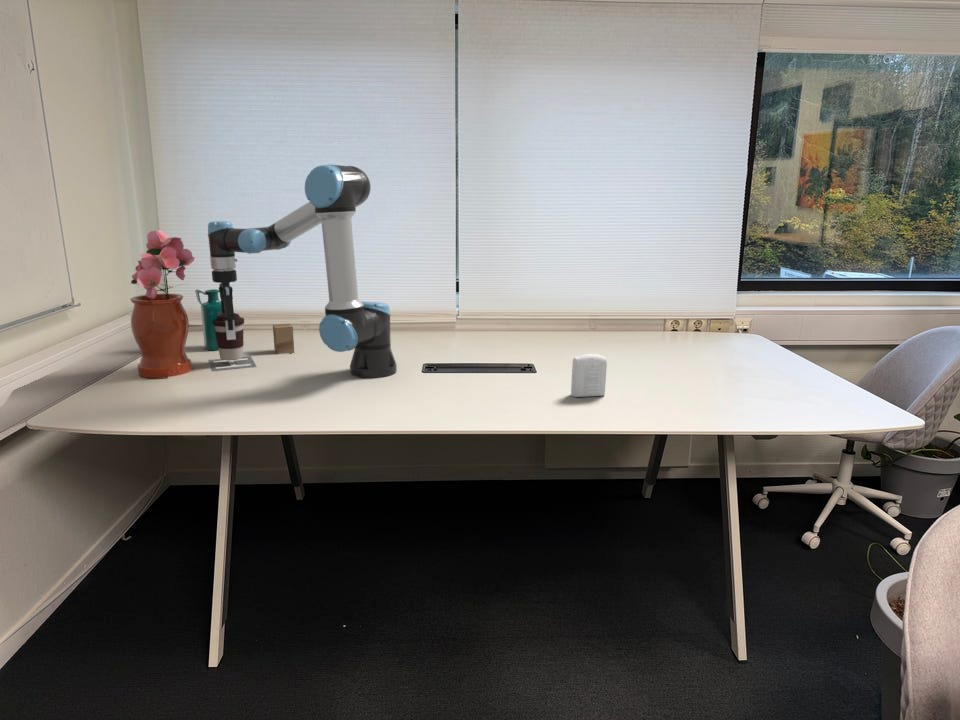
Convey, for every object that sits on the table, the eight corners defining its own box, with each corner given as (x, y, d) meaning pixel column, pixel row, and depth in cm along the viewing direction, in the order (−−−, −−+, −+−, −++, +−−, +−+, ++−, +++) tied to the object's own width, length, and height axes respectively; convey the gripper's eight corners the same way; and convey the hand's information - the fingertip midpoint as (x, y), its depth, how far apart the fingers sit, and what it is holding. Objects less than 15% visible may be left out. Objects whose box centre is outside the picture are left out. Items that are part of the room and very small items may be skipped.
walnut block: (294, 353, 240) (292, 326, 238) (277, 355, 238) (275, 328, 235) (291, 350, 246) (289, 323, 243) (274, 351, 243) (272, 324, 240)
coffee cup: (209, 360, 221) (205, 316, 217) (228, 353, 230) (224, 311, 227) (234, 363, 218) (231, 318, 215) (253, 356, 228) (249, 313, 224)
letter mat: (257, 368, 221) (256, 366, 221) (212, 372, 215) (211, 371, 215) (250, 357, 235) (250, 355, 235) (208, 361, 229) (208, 359, 229)
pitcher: (227, 344, 253) (222, 287, 248) (232, 349, 246) (226, 290, 241) (200, 347, 248) (194, 288, 243) (204, 352, 241) (198, 292, 236)
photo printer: (601, 392, 198) (603, 351, 195) (607, 396, 194) (609, 355, 191) (568, 394, 196) (570, 353, 193) (573, 398, 192) (575, 357, 189)
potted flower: (210, 360, 230) (198, 228, 218) (189, 381, 205) (174, 233, 194) (153, 361, 227) (137, 228, 216) (125, 382, 203) (105, 233, 192)
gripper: (239, 273, 209) (245, 342, 214) (232, 265, 228) (237, 328, 234) (214, 274, 205) (220, 344, 211) (208, 266, 225) (214, 330, 231)
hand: (229, 336), depth 222 cm, fingers closed on coffee cup, 10 cm apart
